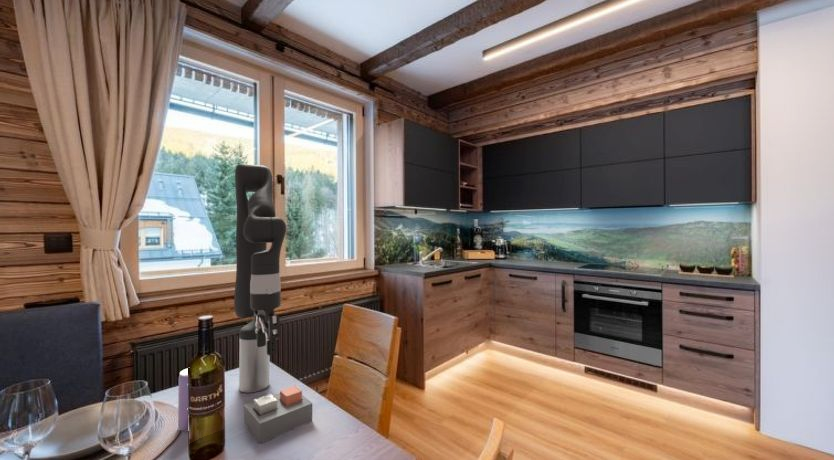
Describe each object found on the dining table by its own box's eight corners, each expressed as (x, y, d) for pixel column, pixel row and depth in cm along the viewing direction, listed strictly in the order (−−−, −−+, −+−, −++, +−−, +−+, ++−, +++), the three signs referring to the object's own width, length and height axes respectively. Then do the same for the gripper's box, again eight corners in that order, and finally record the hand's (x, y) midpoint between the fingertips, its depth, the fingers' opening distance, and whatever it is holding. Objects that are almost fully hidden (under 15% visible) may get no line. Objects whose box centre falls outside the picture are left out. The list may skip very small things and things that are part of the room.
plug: (253, 416, 88) (254, 399, 88) (270, 410, 91) (270, 393, 92) (259, 423, 85) (259, 405, 85) (276, 416, 88) (277, 399, 88)
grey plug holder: (243, 423, 90) (244, 405, 90) (293, 404, 100) (293, 388, 100) (259, 443, 82) (259, 423, 82) (312, 421, 91) (312, 403, 91)
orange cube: (279, 406, 93) (280, 390, 93) (295, 400, 96) (295, 385, 96) (286, 412, 90) (286, 396, 90) (301, 406, 93) (301, 390, 93)
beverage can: (191, 434, 85) (191, 376, 85) (172, 431, 87) (172, 374, 87) (210, 421, 91) (210, 367, 91) (192, 418, 92) (192, 365, 92)
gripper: (243, 289, 92) (243, 347, 92) (259, 295, 81) (259, 361, 81) (271, 286, 97) (271, 341, 97) (289, 291, 86) (290, 353, 86)
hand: (266, 350), depth 89 cm, fingers open, 8 cm apart
